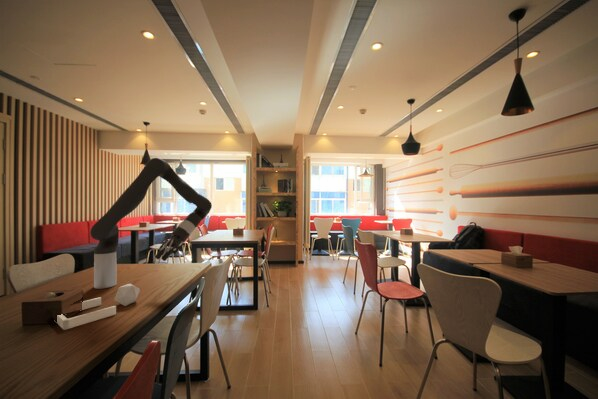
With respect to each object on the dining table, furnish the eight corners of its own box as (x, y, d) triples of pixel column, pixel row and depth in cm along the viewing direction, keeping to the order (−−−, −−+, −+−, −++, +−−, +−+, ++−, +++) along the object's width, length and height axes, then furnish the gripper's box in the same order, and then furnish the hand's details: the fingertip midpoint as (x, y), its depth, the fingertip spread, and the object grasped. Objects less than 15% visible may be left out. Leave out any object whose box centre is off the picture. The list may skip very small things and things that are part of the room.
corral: (51, 317, 96) (51, 309, 96) (100, 304, 108) (100, 297, 108) (63, 330, 86) (63, 321, 86) (116, 314, 98) (116, 306, 98)
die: (141, 305, 108) (145, 282, 114) (123, 301, 101) (128, 277, 107) (126, 310, 110) (131, 288, 115) (107, 307, 103) (113, 283, 109)
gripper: (171, 225, 131) (146, 252, 121) (186, 226, 123) (161, 256, 113) (181, 234, 136) (158, 261, 126) (196, 236, 127) (173, 265, 117)
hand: (159, 258), depth 119 cm, fingers open, 5 cm apart
